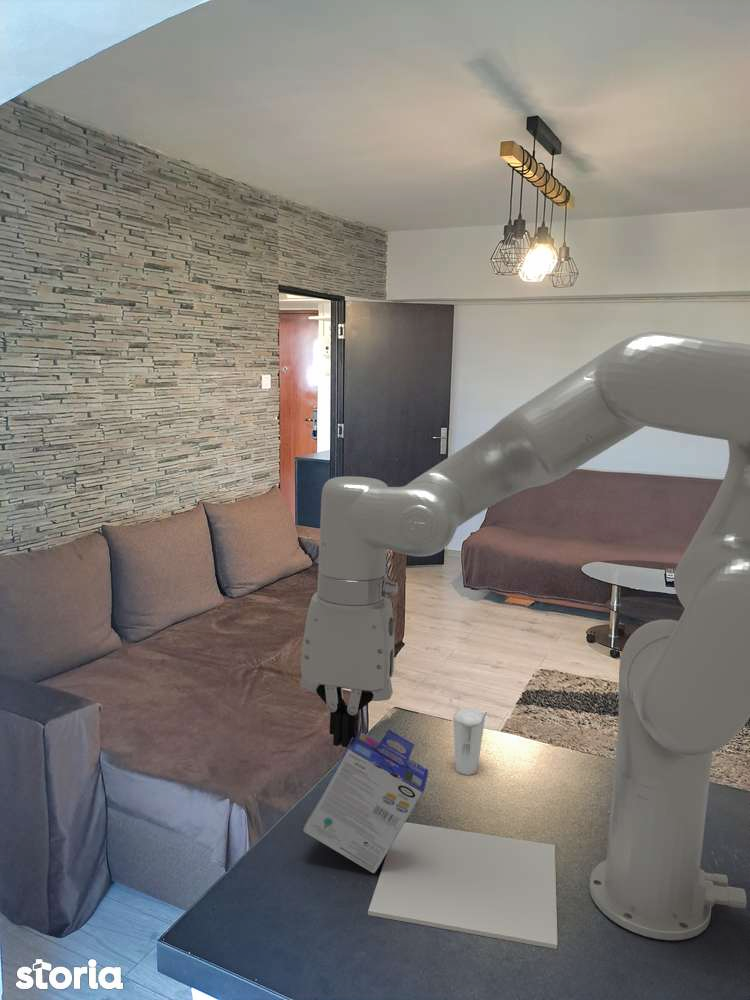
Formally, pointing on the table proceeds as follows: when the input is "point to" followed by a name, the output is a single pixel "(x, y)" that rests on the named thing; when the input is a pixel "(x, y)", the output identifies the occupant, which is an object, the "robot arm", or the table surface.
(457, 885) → the mat
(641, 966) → the table surface
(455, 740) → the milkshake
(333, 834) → the ink cartridge box
